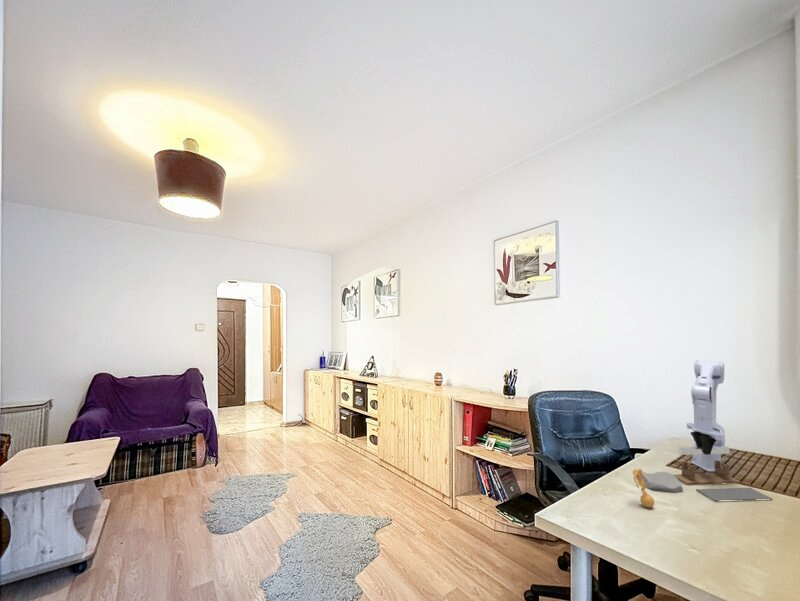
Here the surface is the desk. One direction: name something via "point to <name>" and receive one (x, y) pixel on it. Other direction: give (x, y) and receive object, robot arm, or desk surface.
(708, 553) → the desk surface
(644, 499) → the figurine
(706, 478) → the wooden two-post cradle
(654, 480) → the stone block
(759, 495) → the mat
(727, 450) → the rail
